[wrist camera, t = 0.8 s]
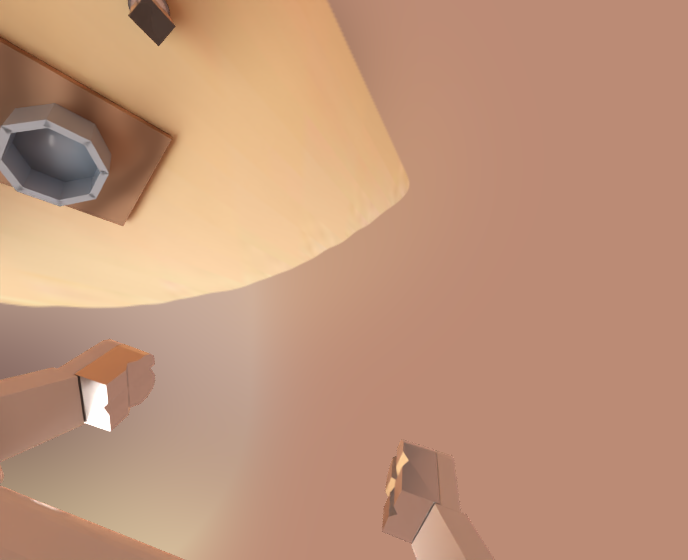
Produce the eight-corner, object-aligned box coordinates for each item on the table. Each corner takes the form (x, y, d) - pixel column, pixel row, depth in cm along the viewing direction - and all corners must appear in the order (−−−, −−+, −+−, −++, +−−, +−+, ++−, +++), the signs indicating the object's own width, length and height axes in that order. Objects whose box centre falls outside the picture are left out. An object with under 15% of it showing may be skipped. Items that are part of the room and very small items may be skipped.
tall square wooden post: (154, 36, 40) (159, 58, 31) (120, 2, 37) (115, 16, 28) (176, 11, 39) (187, 26, 31) (143, -26, 36) (145, -21, 28)
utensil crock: (-4, 157, 40) (-19, 179, 36) (23, 86, 37) (9, 101, 33) (91, 194, 46) (87, 216, 43) (120, 136, 44) (118, 154, 40)
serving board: (-71, 150, 38) (-77, 155, 37) (-32, 18, 33) (-37, 20, 32) (123, 221, 52) (123, 226, 51) (170, 135, 47) (171, 139, 46)
